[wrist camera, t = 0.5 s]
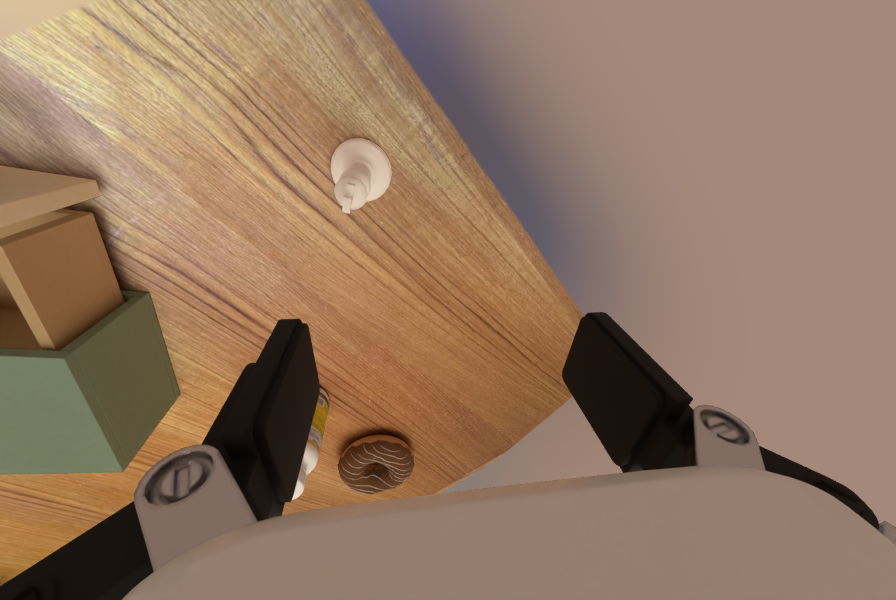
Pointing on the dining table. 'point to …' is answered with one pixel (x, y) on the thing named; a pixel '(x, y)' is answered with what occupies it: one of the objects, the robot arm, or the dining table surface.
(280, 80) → the dining table surface
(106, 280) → the drawer
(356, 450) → the donut
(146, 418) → the cabinet
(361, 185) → the chess piece
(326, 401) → the pill bottle
